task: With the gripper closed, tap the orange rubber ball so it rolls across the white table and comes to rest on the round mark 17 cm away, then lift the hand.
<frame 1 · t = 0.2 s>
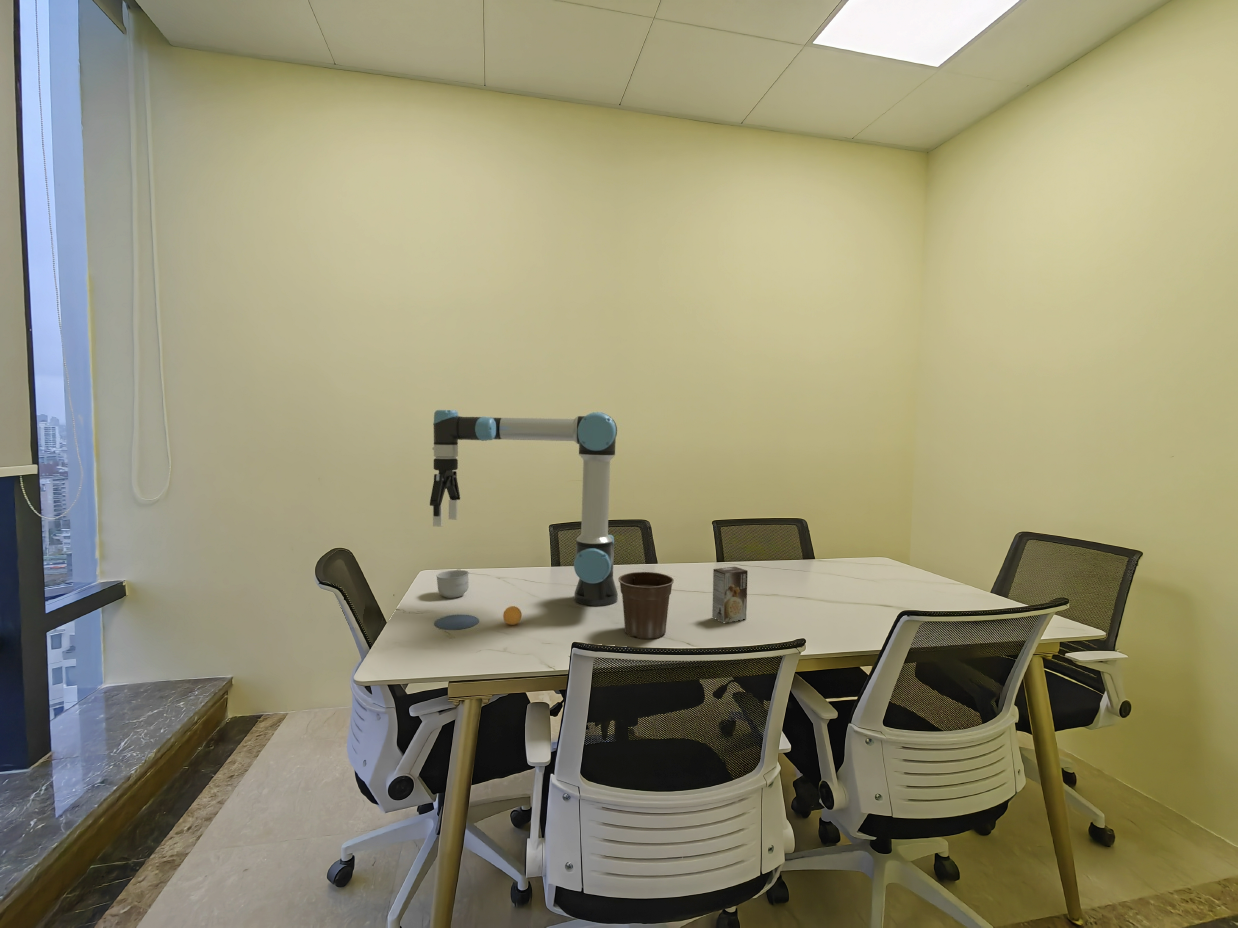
hand: (445, 522, 188), 28 cm above the table, tool pointing down, fingers open, 13 cm apart
teacup: (454, 594, 204), on the table
coffee box: (728, 619, 185), on the table
ball: (512, 615, 174), on the table
plant pot: (644, 632, 171), on the table
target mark: (456, 622, 175), on the table
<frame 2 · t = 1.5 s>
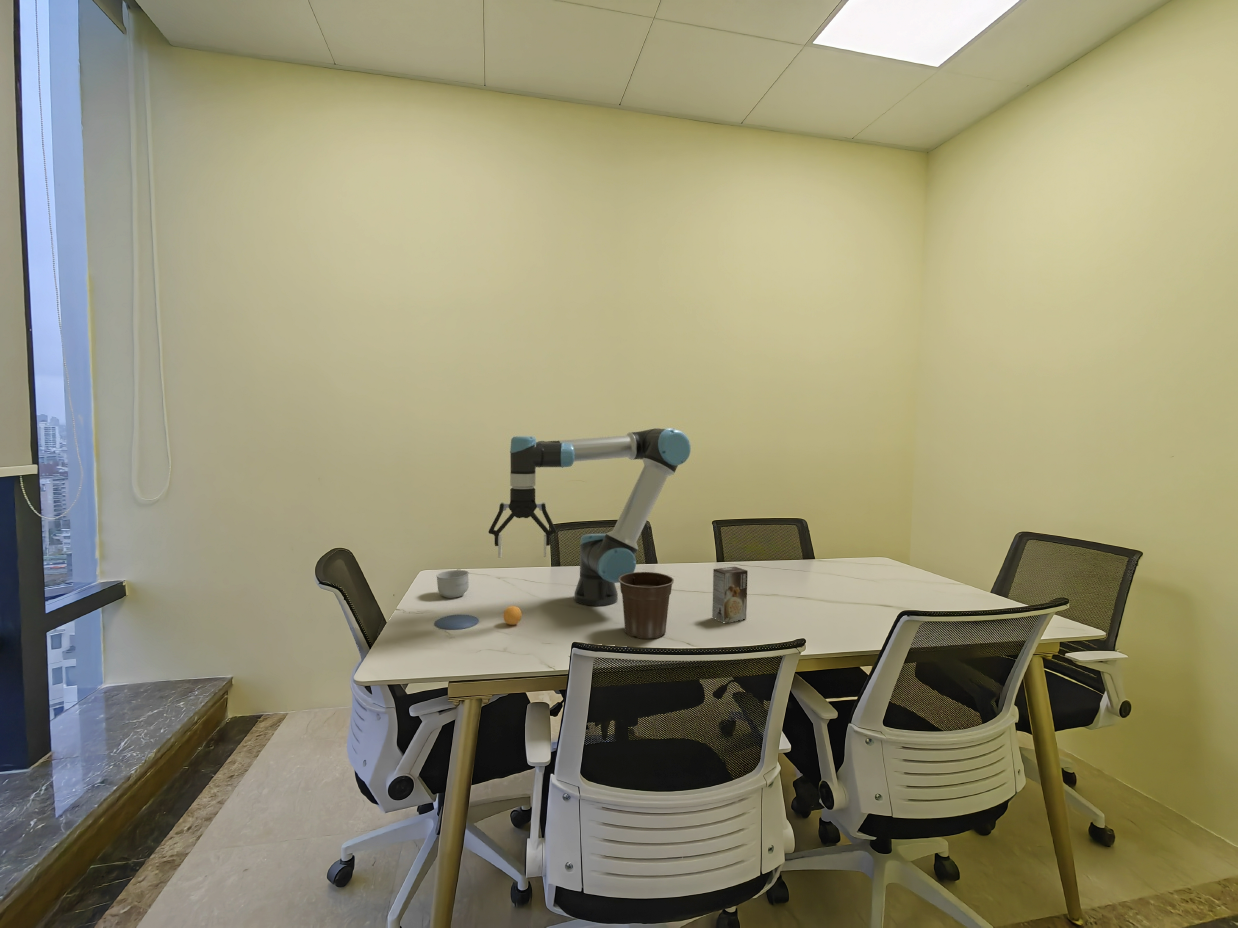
hand: (522, 556, 176), 20 cm above the table, tool pointing down, fingers open, 13 cm apart
nothing on the table moved.
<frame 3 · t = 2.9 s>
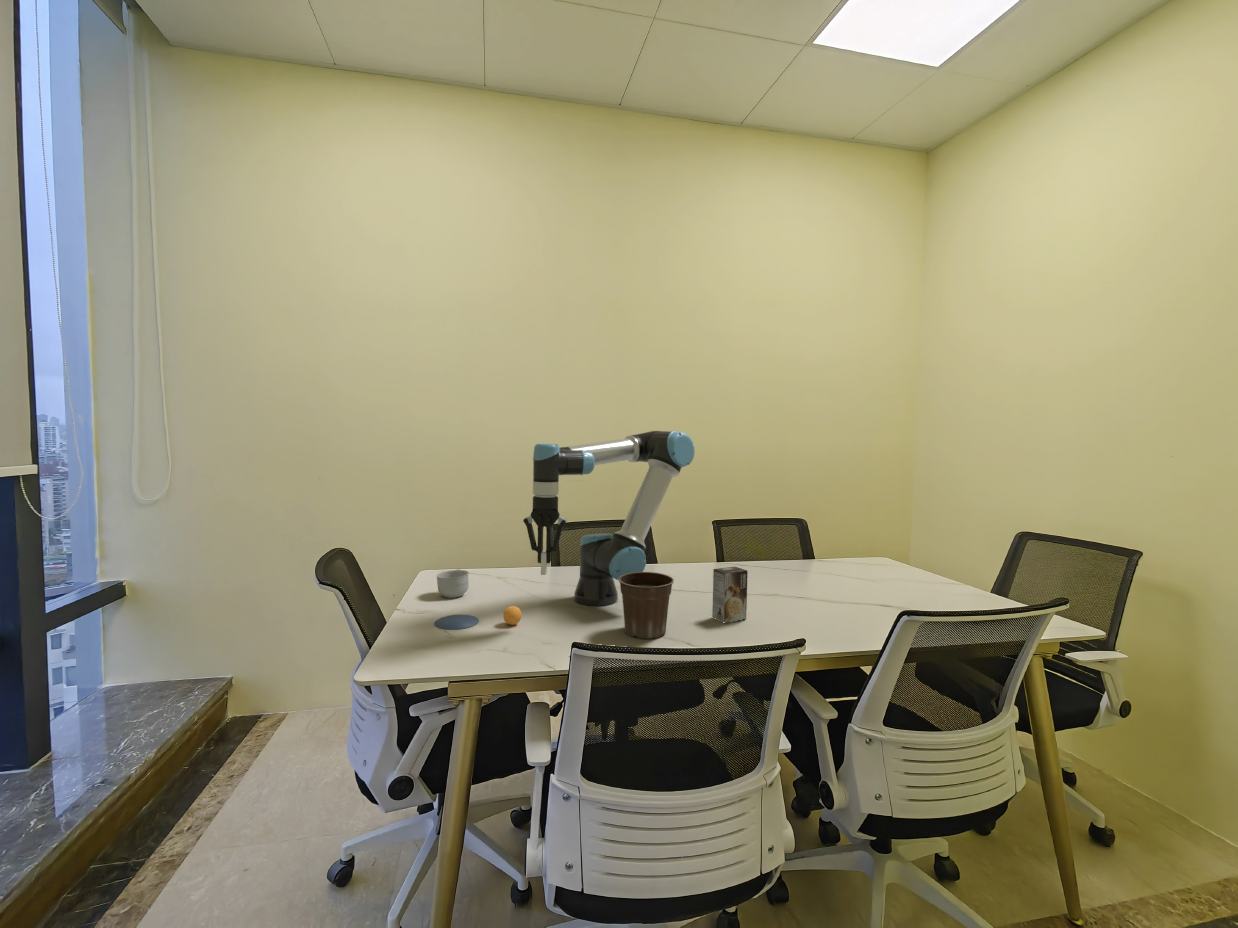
hand: (544, 573, 173), 16 cm above the table, tool pointing down, fingers closed
nothing on the table moved.
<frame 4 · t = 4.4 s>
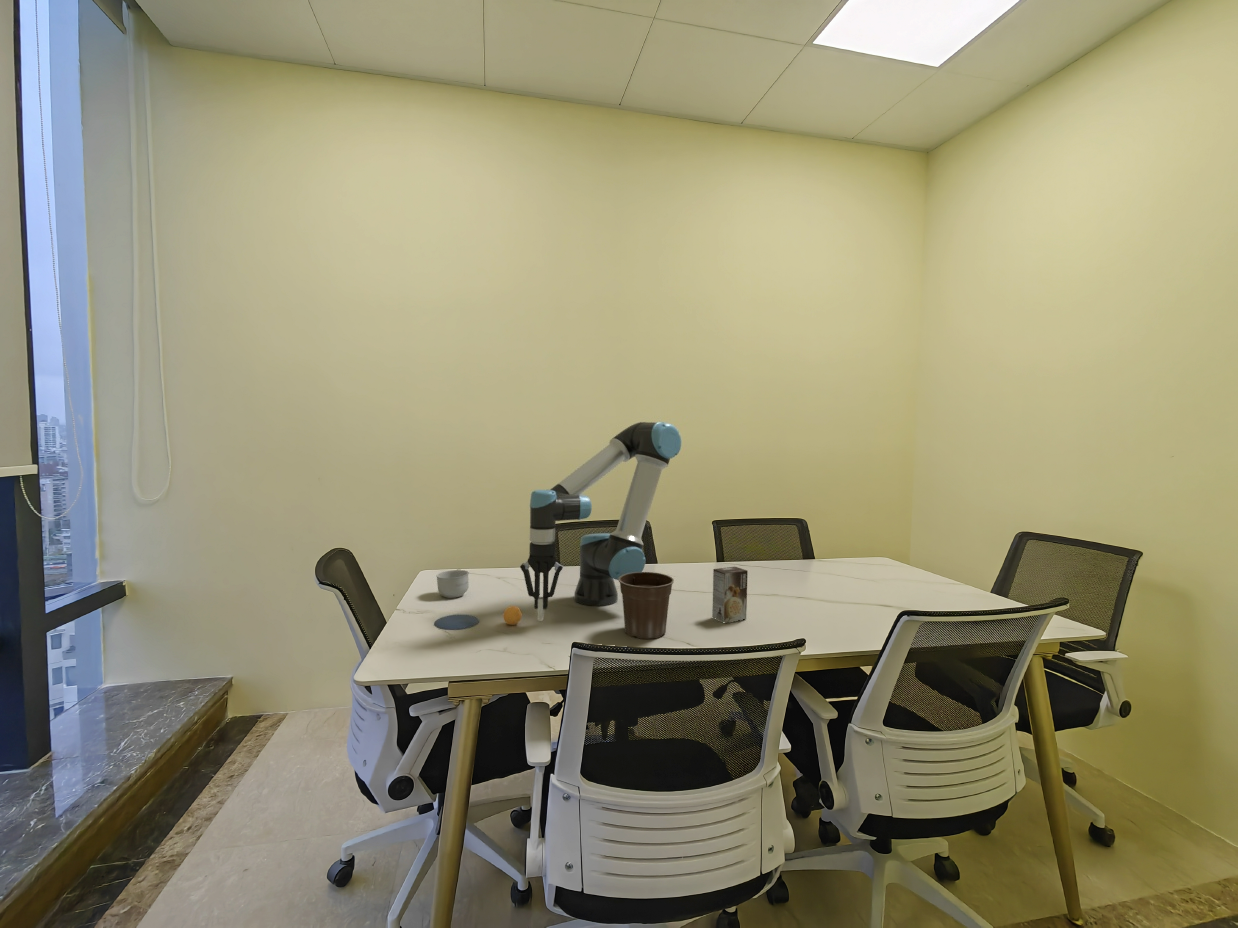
hand: (540, 618, 174), 2 cm above the table, tool pointing down, fingers closed
nothing on the table moved.
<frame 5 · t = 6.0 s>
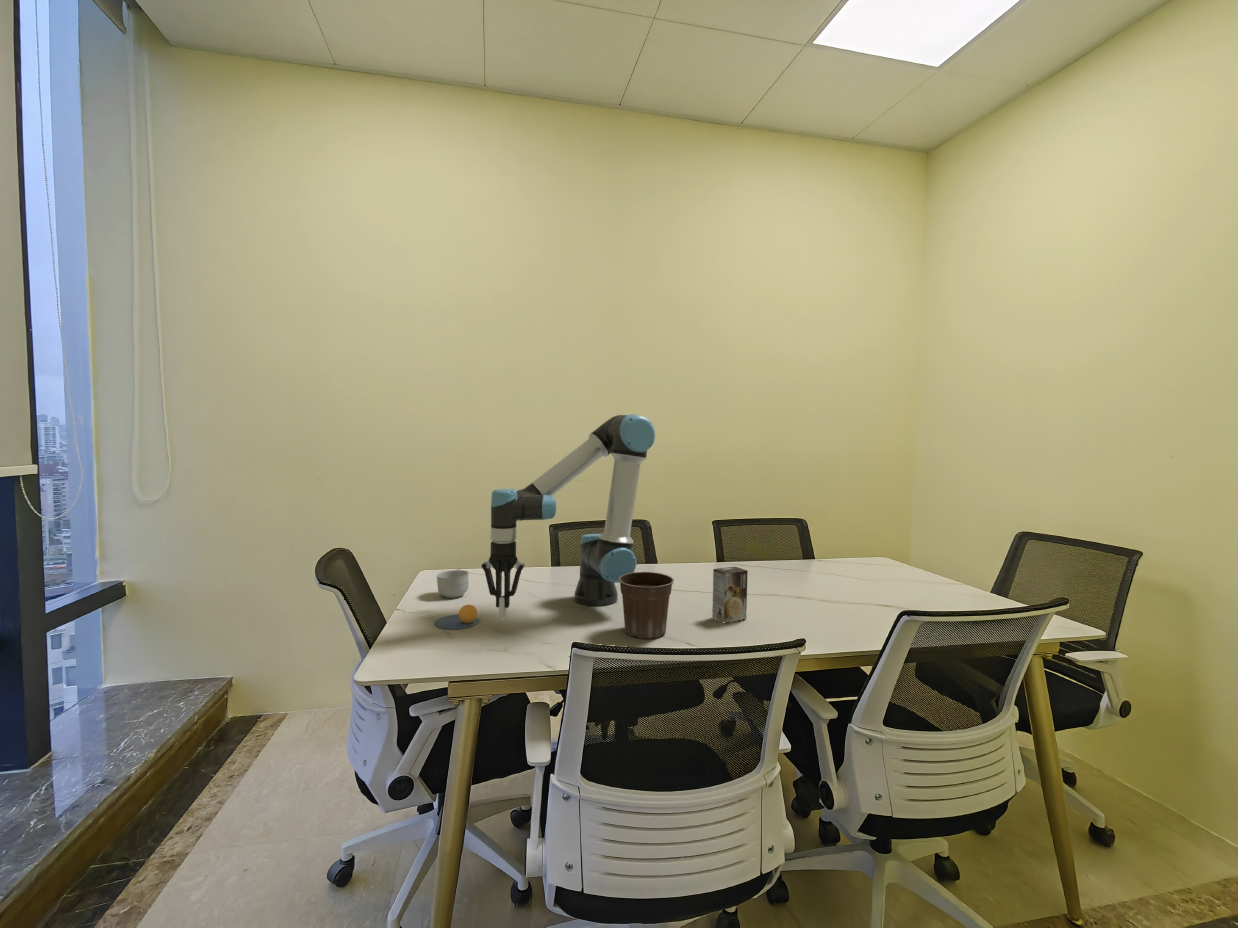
hand: (502, 617, 175), 2 cm above the table, tool pointing down, fingers closed
ball: (468, 613, 175), on the table
everything else where it was.
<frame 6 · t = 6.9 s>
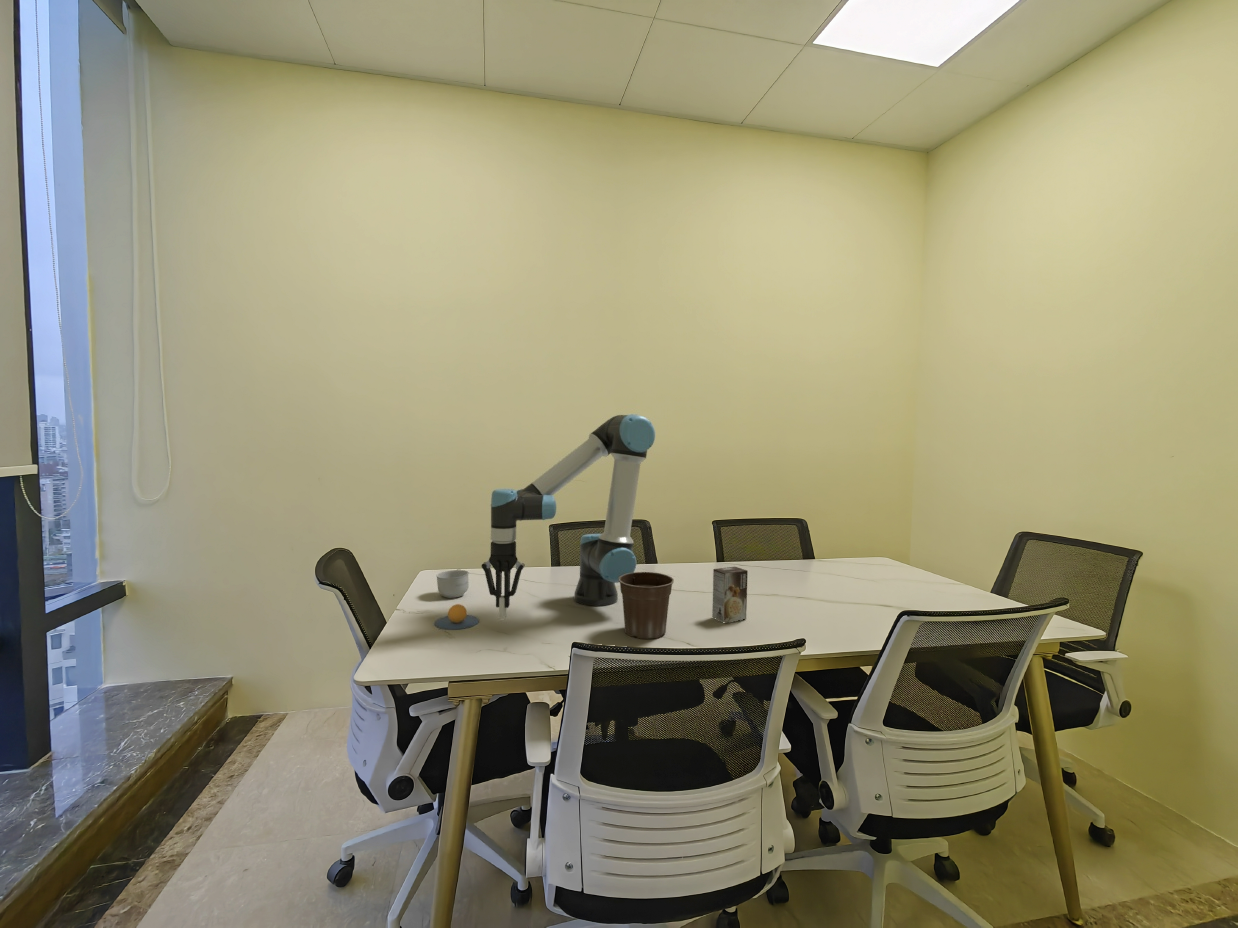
hand: (502, 617, 175), 2 cm above the table, tool pointing down, fingers closed
ball: (457, 613, 175), on the table
everything else where it was.
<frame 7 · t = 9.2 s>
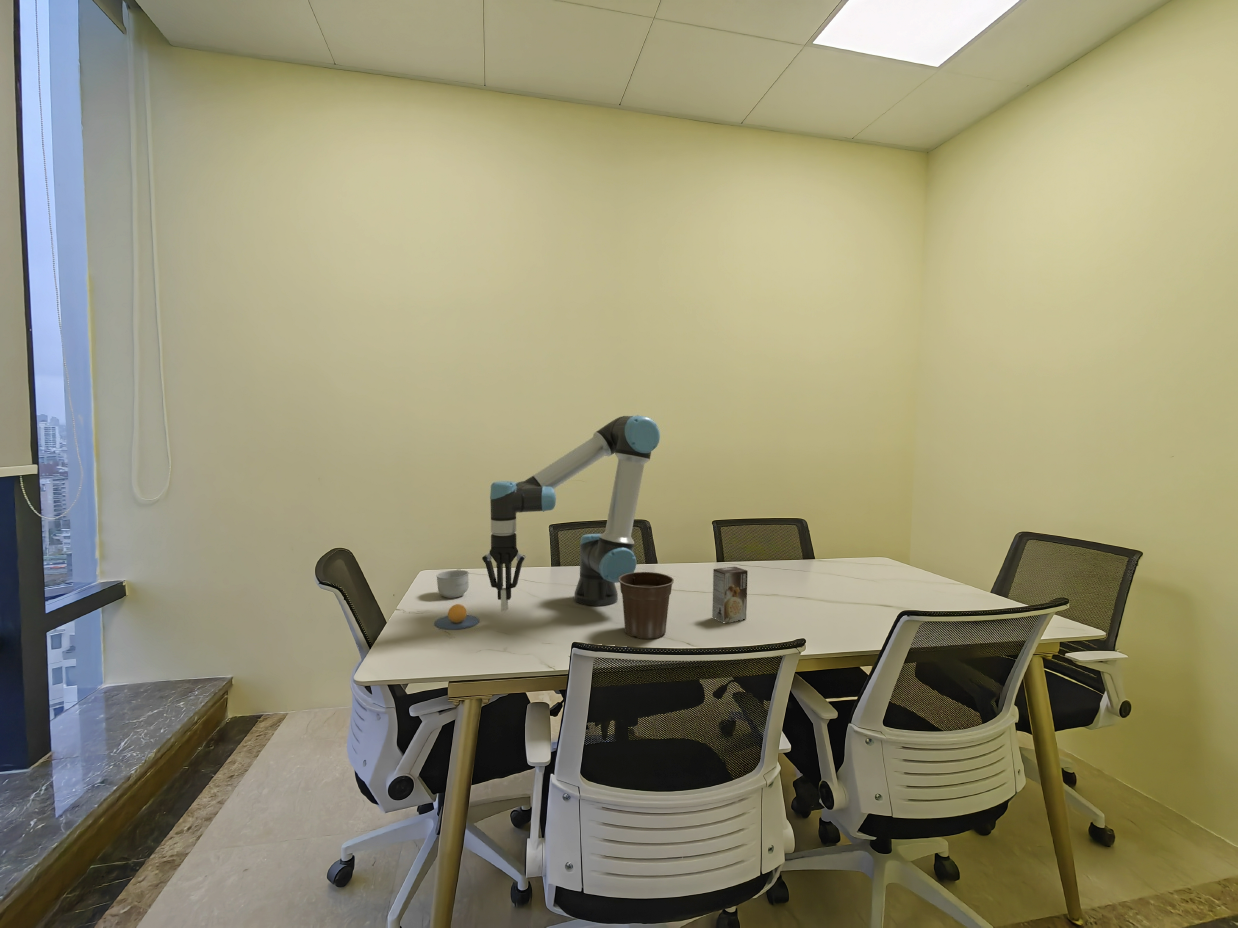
hand: (504, 609, 175), 4 cm above the table, tool pointing down, fingers closed
nothing on the table moved.
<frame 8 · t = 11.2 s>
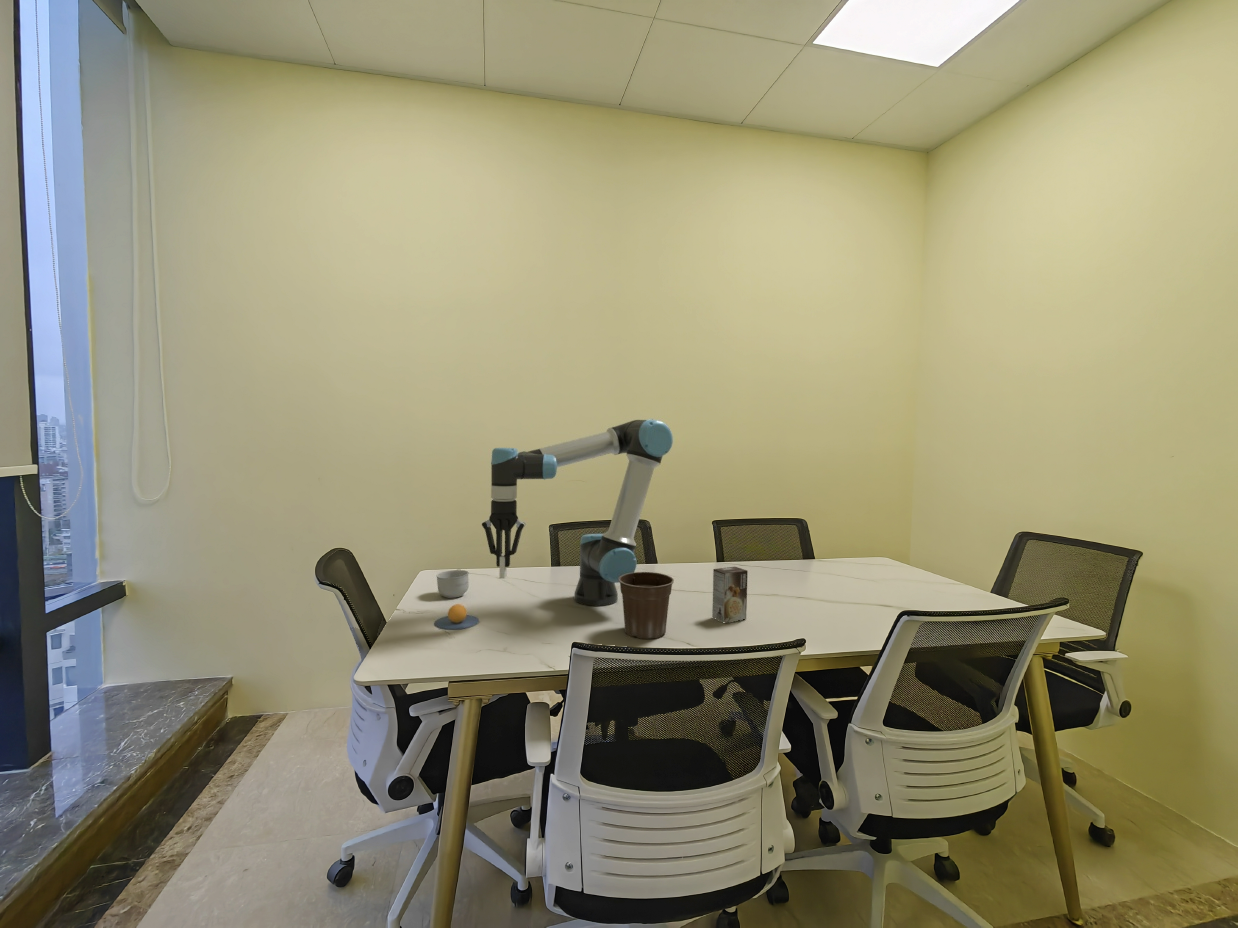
hand: (503, 577, 174), 14 cm above the table, tool pointing down, fingers closed
nothing on the table moved.
at the end: ball 0.3 cm from the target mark (horizontally); ball at rest at the end (0.0 cm/s); ball moved 16.8 cm from its start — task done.
